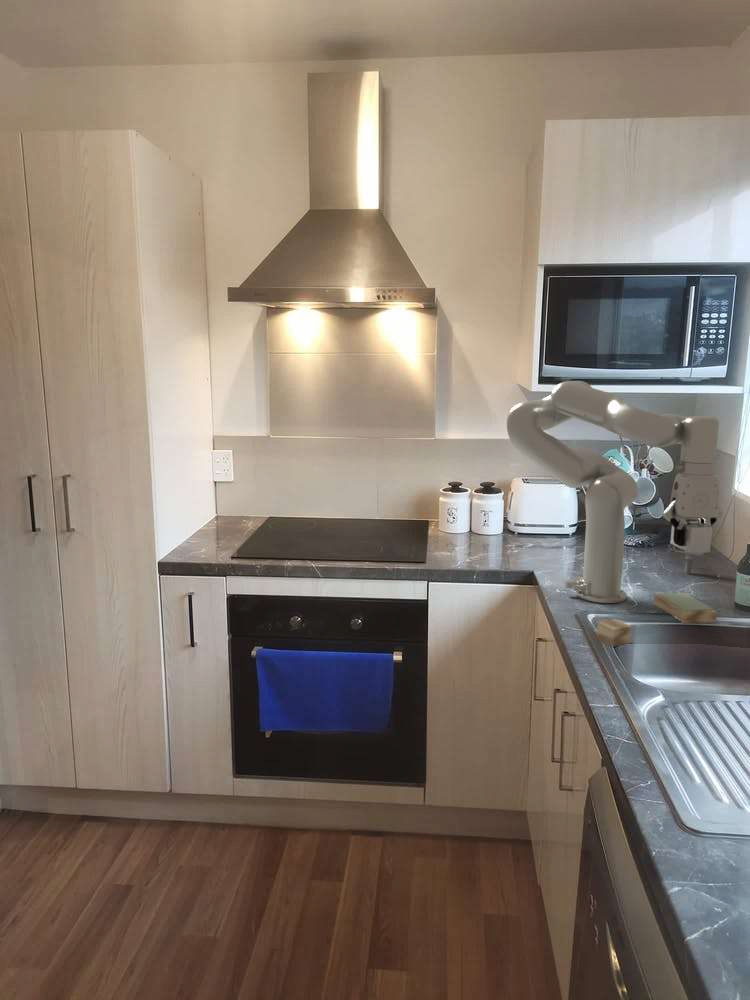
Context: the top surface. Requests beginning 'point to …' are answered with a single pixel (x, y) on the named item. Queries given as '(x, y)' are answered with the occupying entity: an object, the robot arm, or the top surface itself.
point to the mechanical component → (687, 558)
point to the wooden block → (685, 608)
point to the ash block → (614, 632)
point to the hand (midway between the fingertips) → (689, 543)
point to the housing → (695, 536)
